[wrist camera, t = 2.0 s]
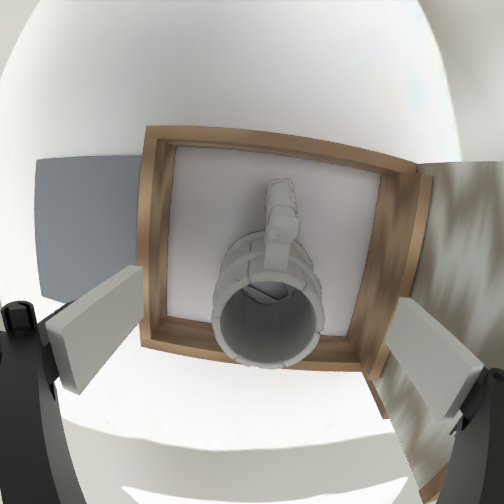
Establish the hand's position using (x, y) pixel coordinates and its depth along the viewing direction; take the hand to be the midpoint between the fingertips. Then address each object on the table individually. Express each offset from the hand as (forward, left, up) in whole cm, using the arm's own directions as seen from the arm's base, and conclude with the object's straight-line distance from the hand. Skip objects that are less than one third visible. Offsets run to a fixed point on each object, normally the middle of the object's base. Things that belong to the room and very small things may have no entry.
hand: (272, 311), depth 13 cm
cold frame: (0, 0, -11) cm, 11 cm away
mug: (0, 0, -12) cm, 12 cm away
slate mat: (+1, -19, -11) cm, 22 cm away
